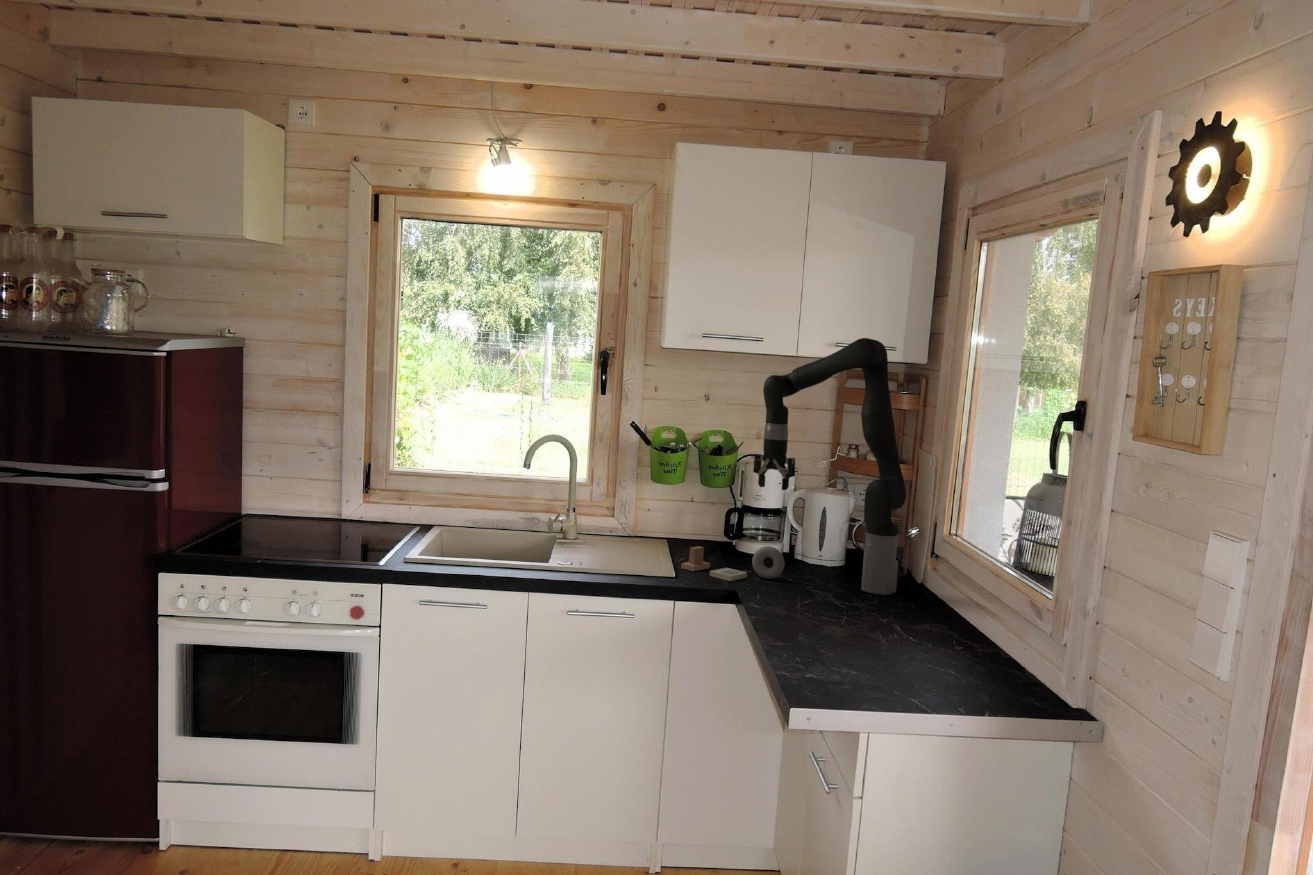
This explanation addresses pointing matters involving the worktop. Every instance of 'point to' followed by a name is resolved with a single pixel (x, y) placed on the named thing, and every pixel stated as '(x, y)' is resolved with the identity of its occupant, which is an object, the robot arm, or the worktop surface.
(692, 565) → the stub
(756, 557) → the donut
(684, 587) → the worktop surface
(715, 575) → the control panel
